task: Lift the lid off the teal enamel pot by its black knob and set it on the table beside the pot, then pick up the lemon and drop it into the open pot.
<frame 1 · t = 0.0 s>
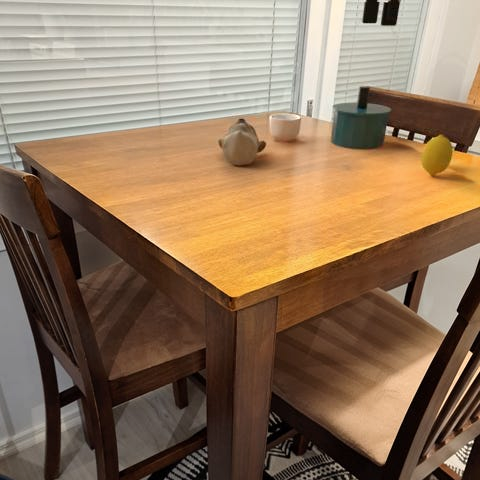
hand: (378, 24, 104), 25 cm above the table, tool pointing down, fingers open, 9 cm apart
lid: (361, 110, 118), point 7 cm above the table, touching pot
lemon: (431, 177, 100), on the table
teacup: (283, 139, 124), on the table
ceramic sculpture: (241, 160, 108), on the table
pot: (356, 142, 122), on the table
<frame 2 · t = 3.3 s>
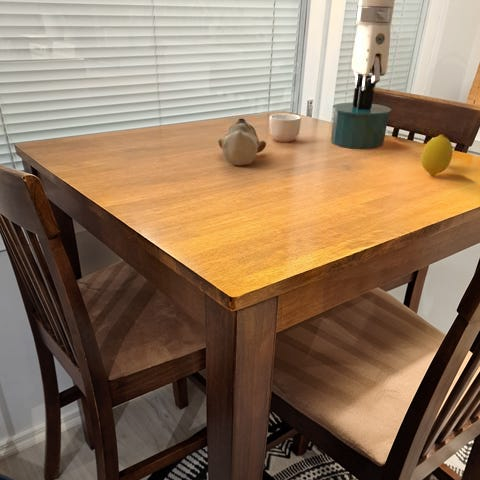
hand: (361, 107, 117), 8 cm above the table, tool pointing down, fingers closed on lid, 2 cm apart
lid: (361, 110, 118), point 8 cm above the table, touching gripper, pot
everything else where it was.
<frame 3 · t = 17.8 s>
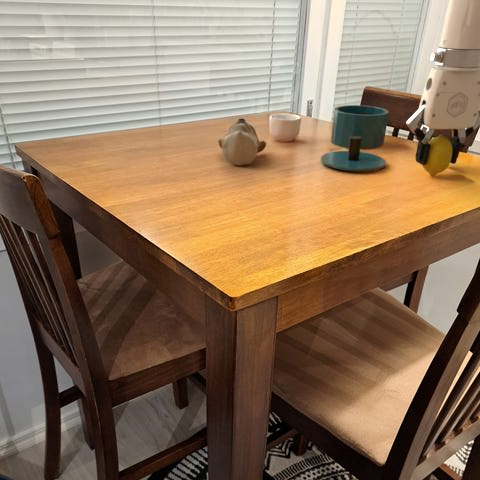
hand: (435, 161, 98), 3 cm above the table, tool pointing down, fingers closed on lemon, 5 cm apart
lid: (352, 161, 105), point 1 cm above the table
lemon: (431, 177, 100), on the table, touching gripper
everything else where it was.
when the fingers open (5 cm above the table, at t = 26.9 s): lemon stays where it is, resting on pot.
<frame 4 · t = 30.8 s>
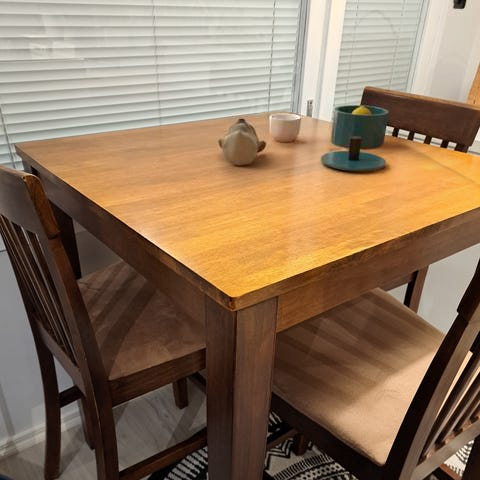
lemon: (357, 141, 122), resting on pot
everything else where it was.
at the end: lid inside the target area (0.1 cm from its centre), point 0.6 cm above the table; lid point 0.6 cm above the table; lemon inside the target area in the pot (0.2 cm from its centre), point 0.3 cm above the pot's base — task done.
